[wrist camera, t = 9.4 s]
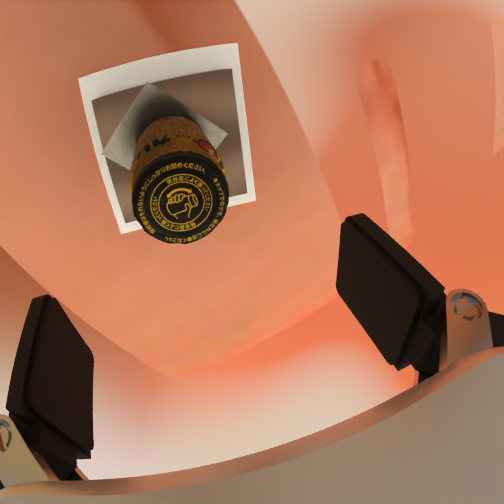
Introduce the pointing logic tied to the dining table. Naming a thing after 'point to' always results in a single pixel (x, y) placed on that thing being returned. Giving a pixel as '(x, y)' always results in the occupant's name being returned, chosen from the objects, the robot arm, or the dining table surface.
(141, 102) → the condiment
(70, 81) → the dining table surface
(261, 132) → the dining table surface
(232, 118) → the plinth
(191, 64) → the base board
